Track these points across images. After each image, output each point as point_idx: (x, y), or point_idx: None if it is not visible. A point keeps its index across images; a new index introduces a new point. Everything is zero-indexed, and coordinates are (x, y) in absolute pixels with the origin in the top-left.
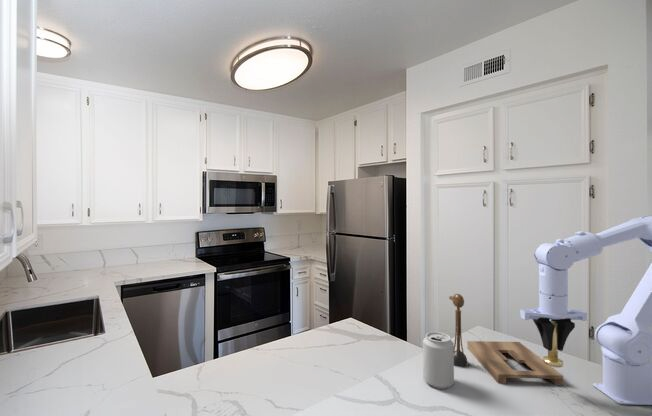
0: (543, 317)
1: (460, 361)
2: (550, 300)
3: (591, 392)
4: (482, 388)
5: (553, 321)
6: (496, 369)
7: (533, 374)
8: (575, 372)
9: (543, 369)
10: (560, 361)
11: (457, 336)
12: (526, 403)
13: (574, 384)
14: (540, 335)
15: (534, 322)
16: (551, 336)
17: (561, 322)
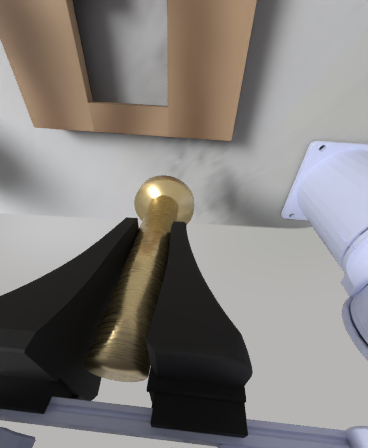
0: (13, 419)
1: None
2: None
3: (270, 171)
4: (12, 145)
5: (128, 366)
6: (30, 91)
7: (141, 131)
8: (357, 41)
9: (195, 94)
10: (182, 218)
11: None
12: (98, 201)
13: (263, 132)
14: (92, 246)
15: (4, 298)
16: None
17: (152, 402)
